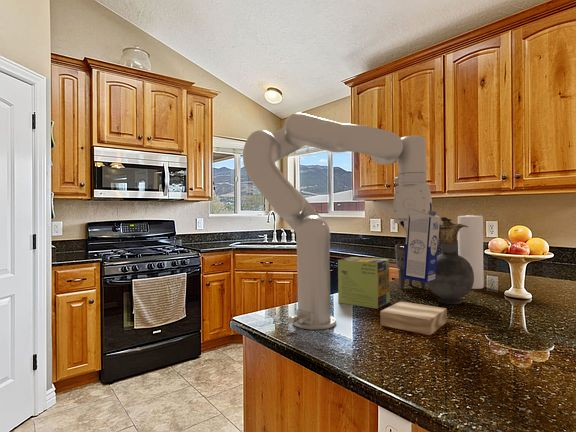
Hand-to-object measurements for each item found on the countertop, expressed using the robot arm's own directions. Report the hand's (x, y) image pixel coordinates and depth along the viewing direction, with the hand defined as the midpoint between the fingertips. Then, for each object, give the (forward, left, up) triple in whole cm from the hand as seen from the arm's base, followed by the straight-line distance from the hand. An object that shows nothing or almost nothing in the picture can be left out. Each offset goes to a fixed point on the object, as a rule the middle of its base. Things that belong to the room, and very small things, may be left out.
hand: (413, 243), depth 105 cm
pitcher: (+31, +1, -23) cm, 39 cm away
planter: (+47, +19, -23) cm, 56 cm away
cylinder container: (+63, 0, -23) cm, 67 cm away
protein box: (+13, +23, -23) cm, 35 cm away
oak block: (0, 0, -23) cm, 23 cm away
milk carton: (-1, -2, -10) cm, 10 cm away
